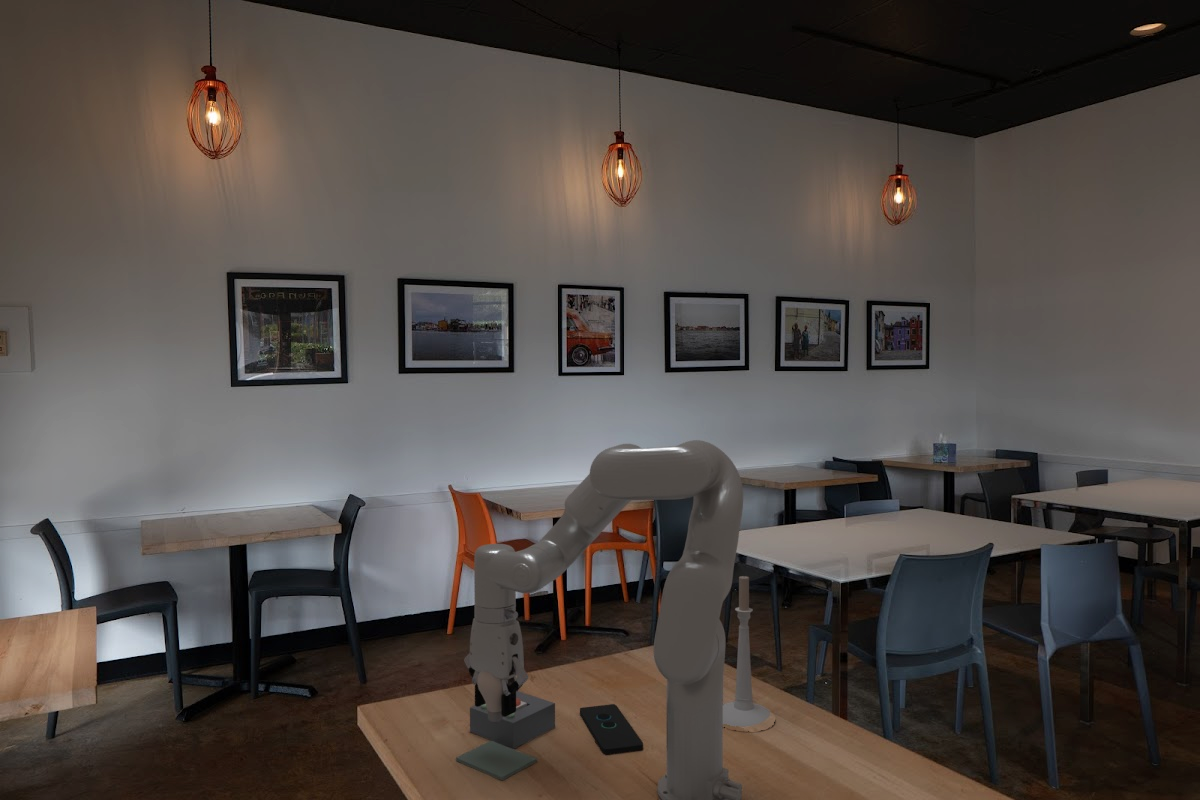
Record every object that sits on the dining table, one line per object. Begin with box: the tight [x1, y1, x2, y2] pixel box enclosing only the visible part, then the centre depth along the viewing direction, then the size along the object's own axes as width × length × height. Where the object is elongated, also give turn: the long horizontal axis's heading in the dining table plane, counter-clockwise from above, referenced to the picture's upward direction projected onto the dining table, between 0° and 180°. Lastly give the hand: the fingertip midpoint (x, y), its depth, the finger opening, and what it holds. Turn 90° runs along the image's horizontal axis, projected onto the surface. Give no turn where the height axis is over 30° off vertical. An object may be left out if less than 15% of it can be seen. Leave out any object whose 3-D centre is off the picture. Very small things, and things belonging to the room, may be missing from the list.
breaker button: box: [516, 698, 527, 711], centre depth 167 cm, size 4×4×4 cm
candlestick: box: [723, 574, 770, 727], centre depth 171 cm, size 13×13×30 cm
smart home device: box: [579, 703, 644, 756], centre depth 166 cm, size 8×2×20 cm
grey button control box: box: [469, 690, 556, 750], centre depth 167 cm, size 12×12×6 cm
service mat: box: [455, 740, 538, 781], centre depth 154 cm, size 12×9×1 cm
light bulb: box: [477, 671, 511, 723], centre depth 153 cm, size 7×7×11 cm
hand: (495, 708), depth 153 cm, fingers closed on light bulb, 6 cm apart
